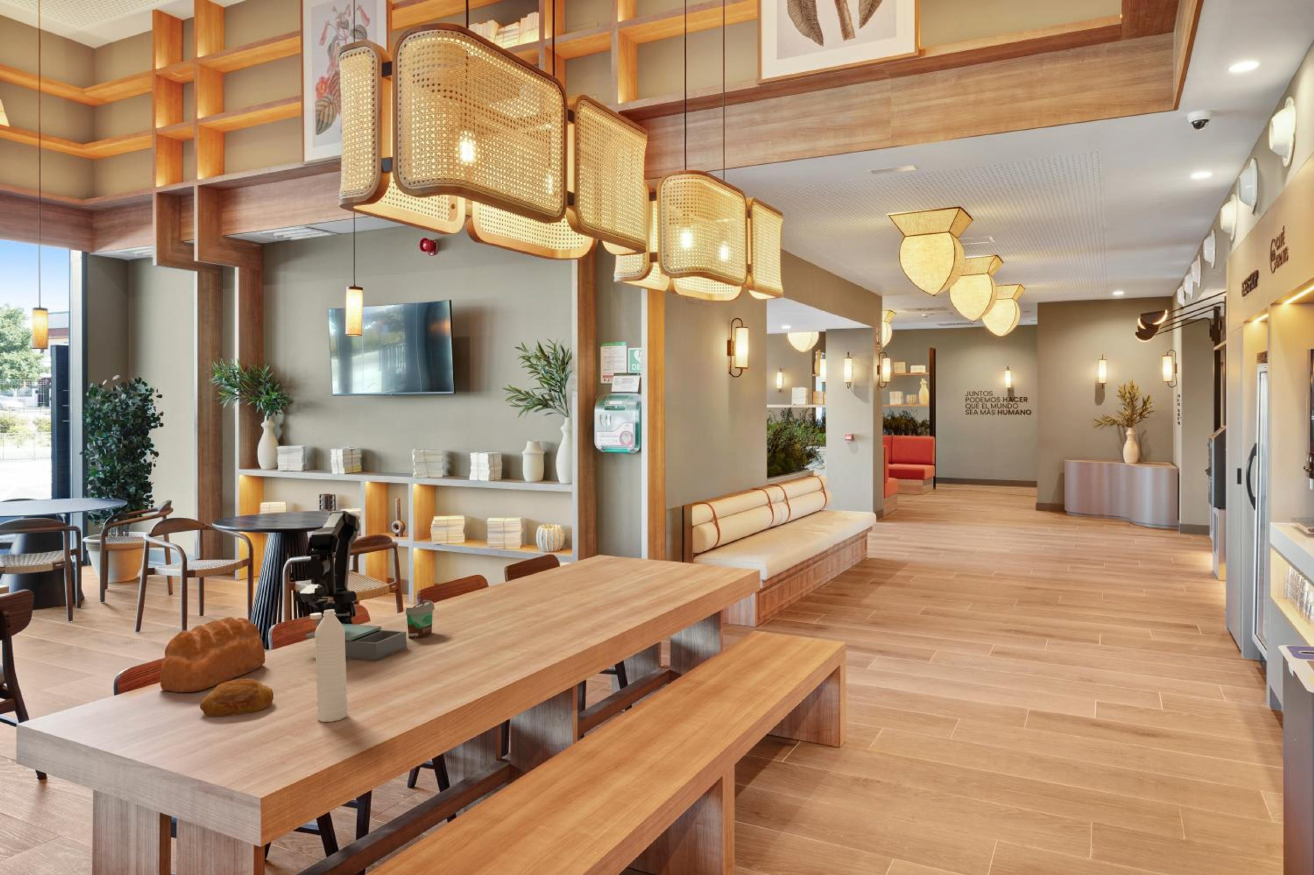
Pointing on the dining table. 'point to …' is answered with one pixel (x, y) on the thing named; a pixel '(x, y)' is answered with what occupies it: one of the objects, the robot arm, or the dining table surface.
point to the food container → (420, 620)
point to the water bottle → (330, 667)
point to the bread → (211, 655)
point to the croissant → (237, 698)
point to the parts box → (375, 645)
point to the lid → (351, 630)
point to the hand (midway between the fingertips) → (326, 624)
